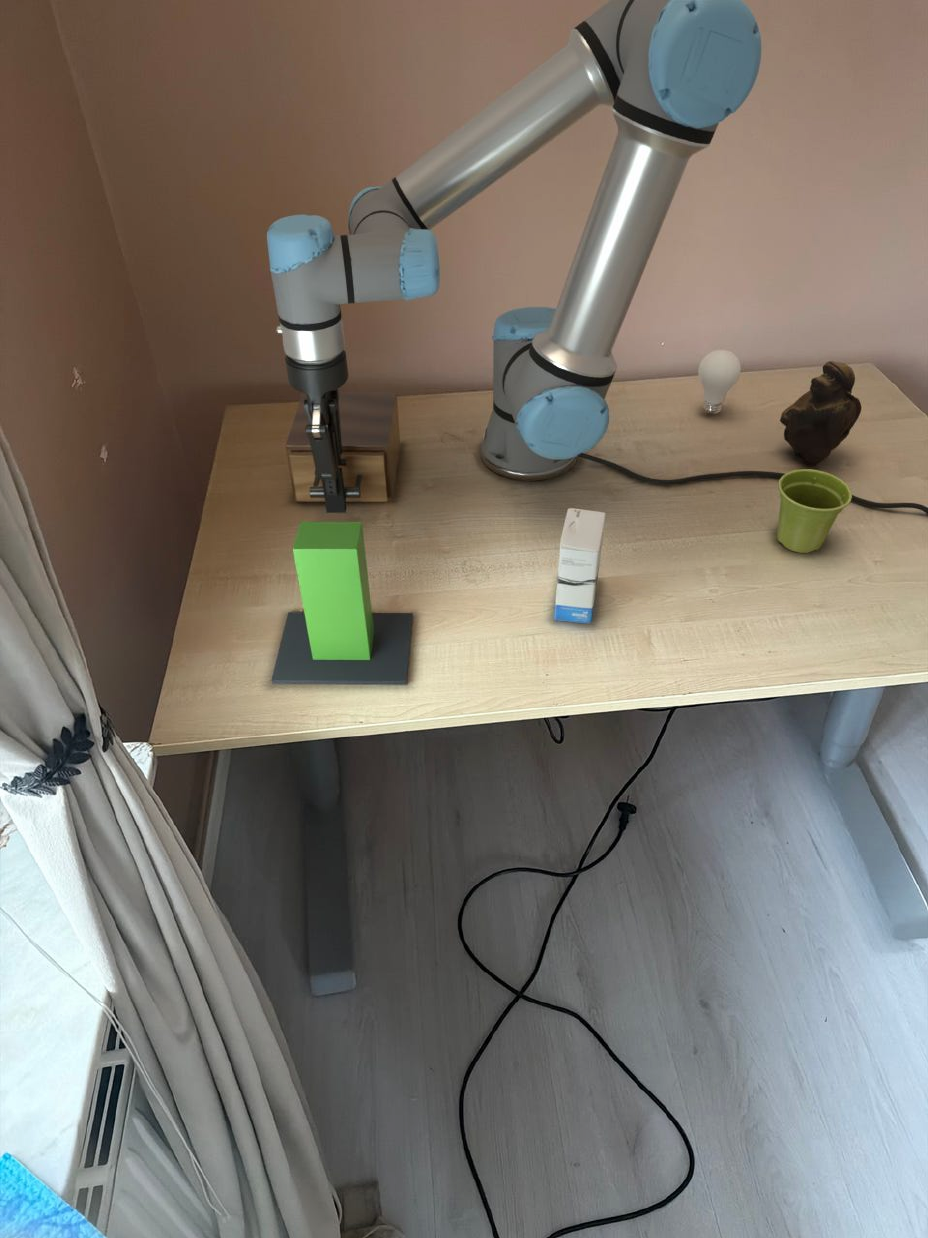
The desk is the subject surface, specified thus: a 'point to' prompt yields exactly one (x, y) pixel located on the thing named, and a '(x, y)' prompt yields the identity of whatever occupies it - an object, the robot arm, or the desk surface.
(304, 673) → the slate mat
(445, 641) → the desk surface
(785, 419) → the sculpture
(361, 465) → the drawer
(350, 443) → the cabinet
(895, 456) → the desk surface
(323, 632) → the tall green prism
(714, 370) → the light bulb
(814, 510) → the plant pot
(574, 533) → the ink box
